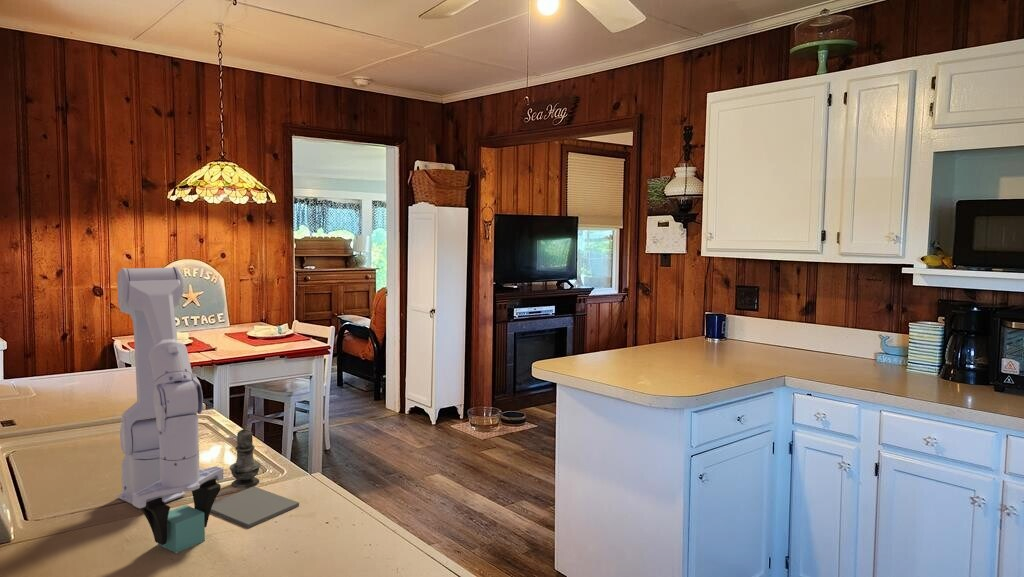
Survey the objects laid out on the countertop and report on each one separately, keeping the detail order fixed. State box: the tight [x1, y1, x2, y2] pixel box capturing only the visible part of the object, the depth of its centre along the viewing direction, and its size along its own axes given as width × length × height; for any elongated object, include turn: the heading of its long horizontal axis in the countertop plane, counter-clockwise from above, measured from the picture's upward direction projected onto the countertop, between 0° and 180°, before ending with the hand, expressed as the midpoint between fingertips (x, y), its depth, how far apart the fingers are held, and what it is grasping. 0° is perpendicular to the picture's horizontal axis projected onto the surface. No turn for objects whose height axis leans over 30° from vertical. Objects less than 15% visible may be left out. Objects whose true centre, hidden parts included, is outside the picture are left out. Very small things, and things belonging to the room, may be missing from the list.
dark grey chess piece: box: [228, 424, 262, 489], centre depth 135 cm, size 6×6×12 cm
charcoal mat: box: [210, 485, 300, 529], centre depth 125 cm, size 13×11×1 cm
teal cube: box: [157, 504, 206, 554], centre depth 111 cm, size 5×5×5 cm
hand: (181, 534), depth 111 cm, fingers open, 6 cm apart
